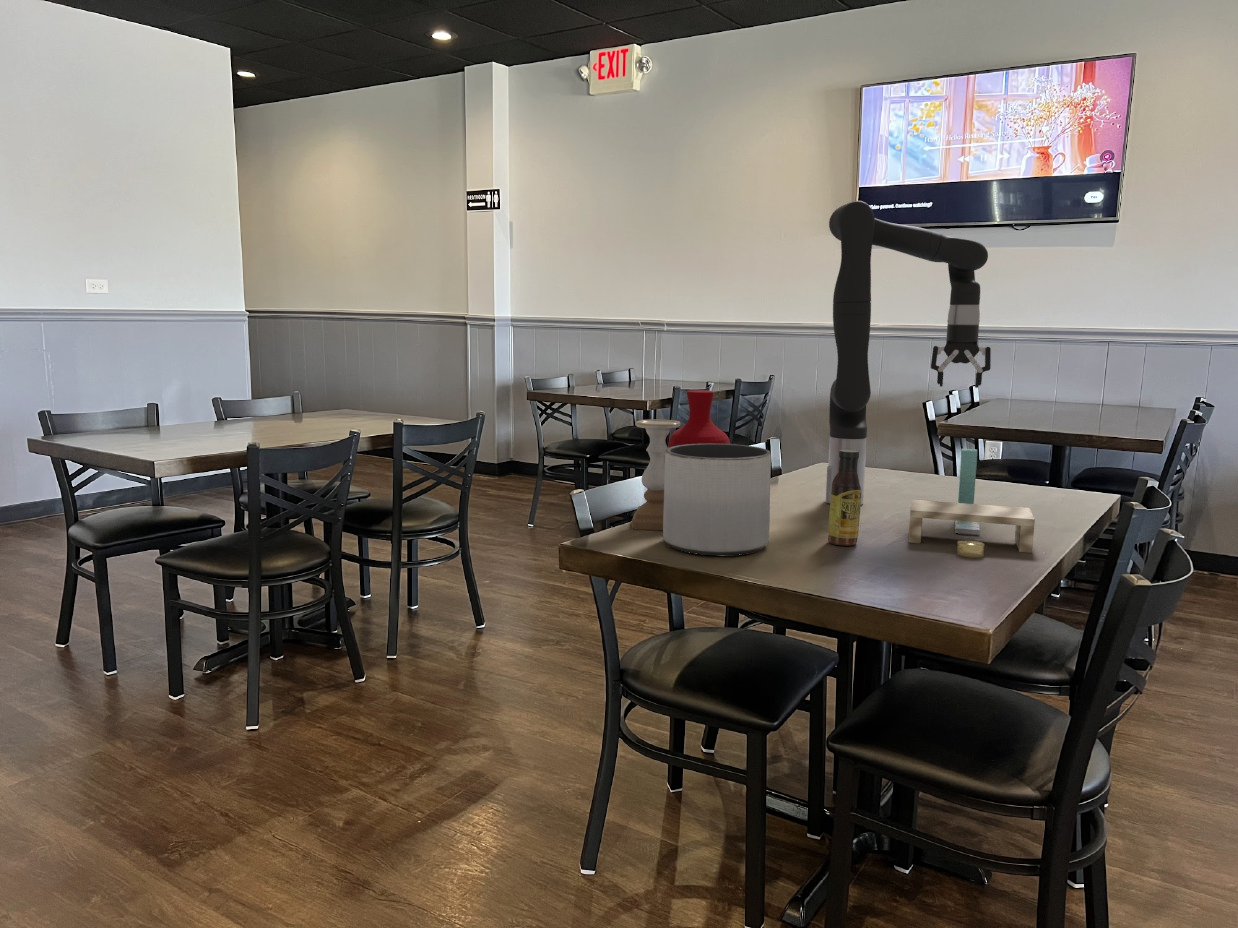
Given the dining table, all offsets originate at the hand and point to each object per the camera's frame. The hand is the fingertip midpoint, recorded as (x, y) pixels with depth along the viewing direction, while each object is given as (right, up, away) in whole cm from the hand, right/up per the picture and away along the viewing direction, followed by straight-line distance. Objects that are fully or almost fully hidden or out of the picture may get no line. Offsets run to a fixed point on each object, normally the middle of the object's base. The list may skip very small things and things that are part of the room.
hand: (958, 387), depth 226 cm
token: (-16, -38, -48) cm, 64 cm away
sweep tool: (-6, -34, -20) cm, 40 cm away
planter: (-67, -37, -42) cm, 87 cm away
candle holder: (-79, -34, -24) cm, 89 cm away
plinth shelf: (-12, -36, -37) cm, 53 cm away
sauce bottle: (-40, -37, -40) cm, 67 cm away
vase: (-68, -32, -13) cm, 77 cm away
